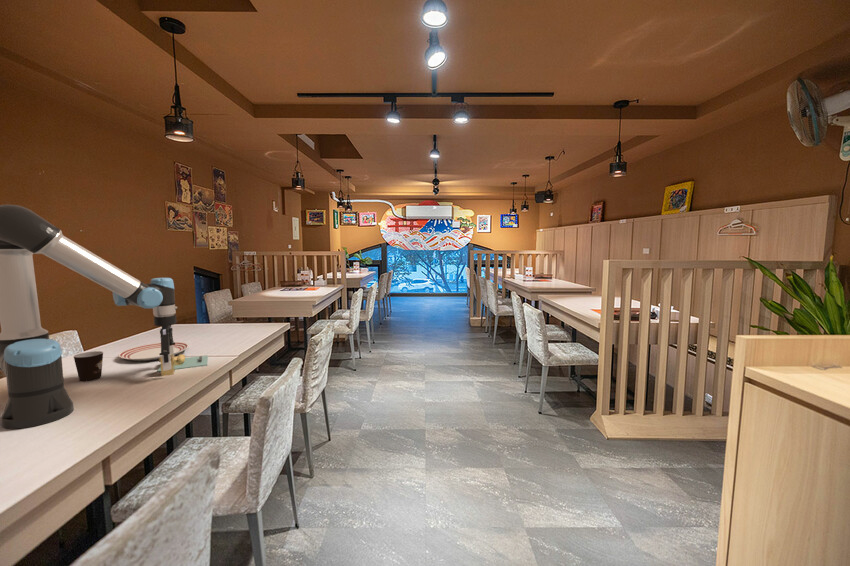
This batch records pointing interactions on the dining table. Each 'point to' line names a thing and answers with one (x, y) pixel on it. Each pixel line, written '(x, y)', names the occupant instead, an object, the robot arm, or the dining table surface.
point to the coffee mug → (89, 365)
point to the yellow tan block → (168, 372)
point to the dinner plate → (150, 351)
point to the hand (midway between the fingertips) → (169, 365)
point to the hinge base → (188, 362)
